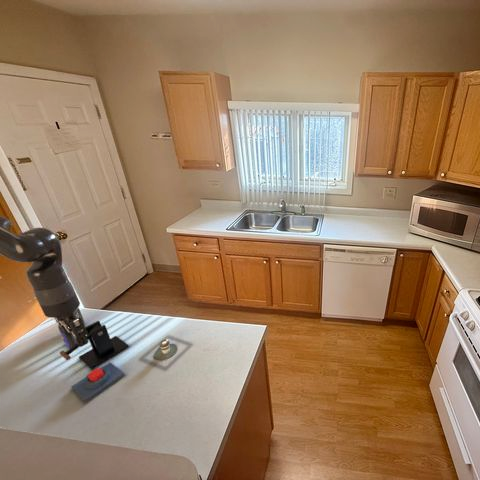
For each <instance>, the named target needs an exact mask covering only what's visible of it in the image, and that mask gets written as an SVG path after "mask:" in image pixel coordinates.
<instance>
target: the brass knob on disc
mask: <svg viewBox="0 0 480 480" xmlns="http://www.w3.org/2000/svg"><path fill="white" fill-rule="evenodd" d="M177 351H178V346H177V345H176V344H174V343H171V342H170V340H169V339H167V338H166V339H163V340H161V341H160V342H159V347H158V348H157V349H156V351H154V353H153V356H154V359H155V360H158V361H163V360H167V359H170V358H171V357H173V356H174V355H175V354H176V353H177Z"/></svg>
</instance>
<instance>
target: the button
mask: <svg viewBox="0 0 480 480" xmlns="http://www.w3.org/2000/svg"><path fill="white" fill-rule="evenodd" d="M100 368H101V367H99V368H98V367H97V368H94V369H92V370H91V371H90V372H89V373H88V374H89V375H88V374H87V375H88V377H89V379H90V381H92V382H94V381H97V380H99V379H100V378H102V377H103V375H104V373H103V370H102V369H100Z"/></svg>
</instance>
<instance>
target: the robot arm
mask: <svg viewBox="0 0 480 480" xmlns="http://www.w3.org/2000/svg"><path fill="white" fill-rule="evenodd" d="M12 229H13V222H12V220H10V219H9V218H6V217H5V216H3V215H0V255H1V256H3V257H4V258H6V259H8V260H10V261H12V262H17V263H31V264H30V266H29V267H28V268H27V270H26V271H25V274H26V275H25V276H26V278H27V280H28V282H29V284H30V286H31V288H32V290H33V294H34V296H35V299H36V300H37V302H38V304H39V307H40V309H41V311H42V313H43V314H44V316H45V317H46V318H49V319H50V318H51V319H53V318H54V321H55V323H57V324H59V326H61V327H62V326H63V327H62V329H63V331H64V333H65V335H66V336H70V335H72V334H73V337H74V338H75V339H76V341H77V343H78V346H79V347H80V348H82V347H84V346H85V345H87V344H89V339H87V337H86V336H87V334H88V331H87V330H86V328H85V327H86V325H85V323H84V324H83V321H82V319H81V318H79V316H78V314H77V313H74V311H75V310H76V309H77V308H80V304H81V303H80V302H81V301H80V300H79V298H78V296H77V293H76V291H75V288H74V285H73V284H72V282H71V281H70V279H69V278H68V275H67V273H66V270H65V268H64V267H63V250H62V244H61V241H60V239H59V237H58V235H57V234H56V233H55V232H53V231H52V230H50V229H48V228H45V227H33V228H29V229H28V230H25V231H24V232H22V233H19V234H17V233H14V232H12ZM80 330H81V331H80ZM78 331H80V332H79V333H78Z"/></svg>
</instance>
